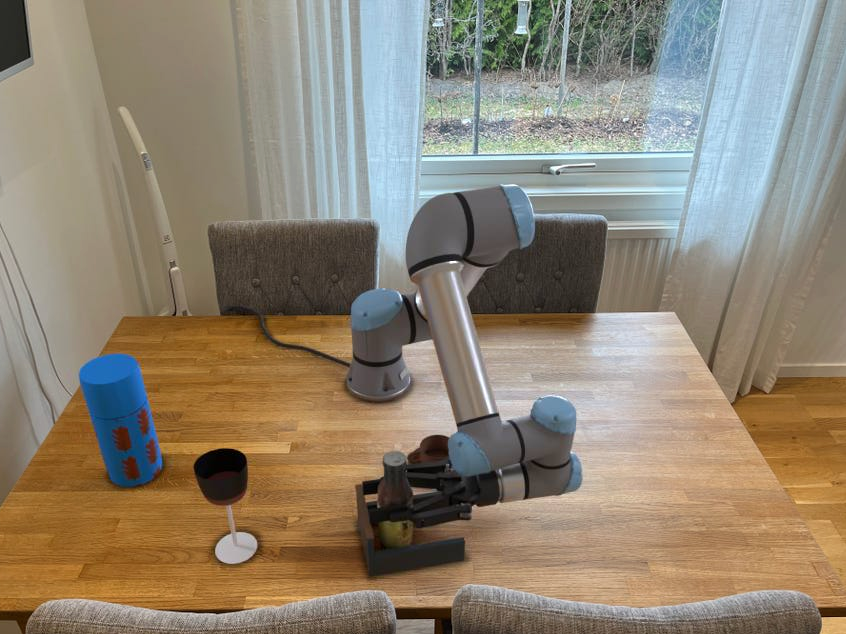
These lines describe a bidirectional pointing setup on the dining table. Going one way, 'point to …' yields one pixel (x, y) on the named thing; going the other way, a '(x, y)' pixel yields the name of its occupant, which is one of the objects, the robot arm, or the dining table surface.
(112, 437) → the thermos
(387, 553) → the caddy
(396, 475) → the sauce bottle
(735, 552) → the dining table surface
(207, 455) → the wineglass
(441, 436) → the cup and saucer
